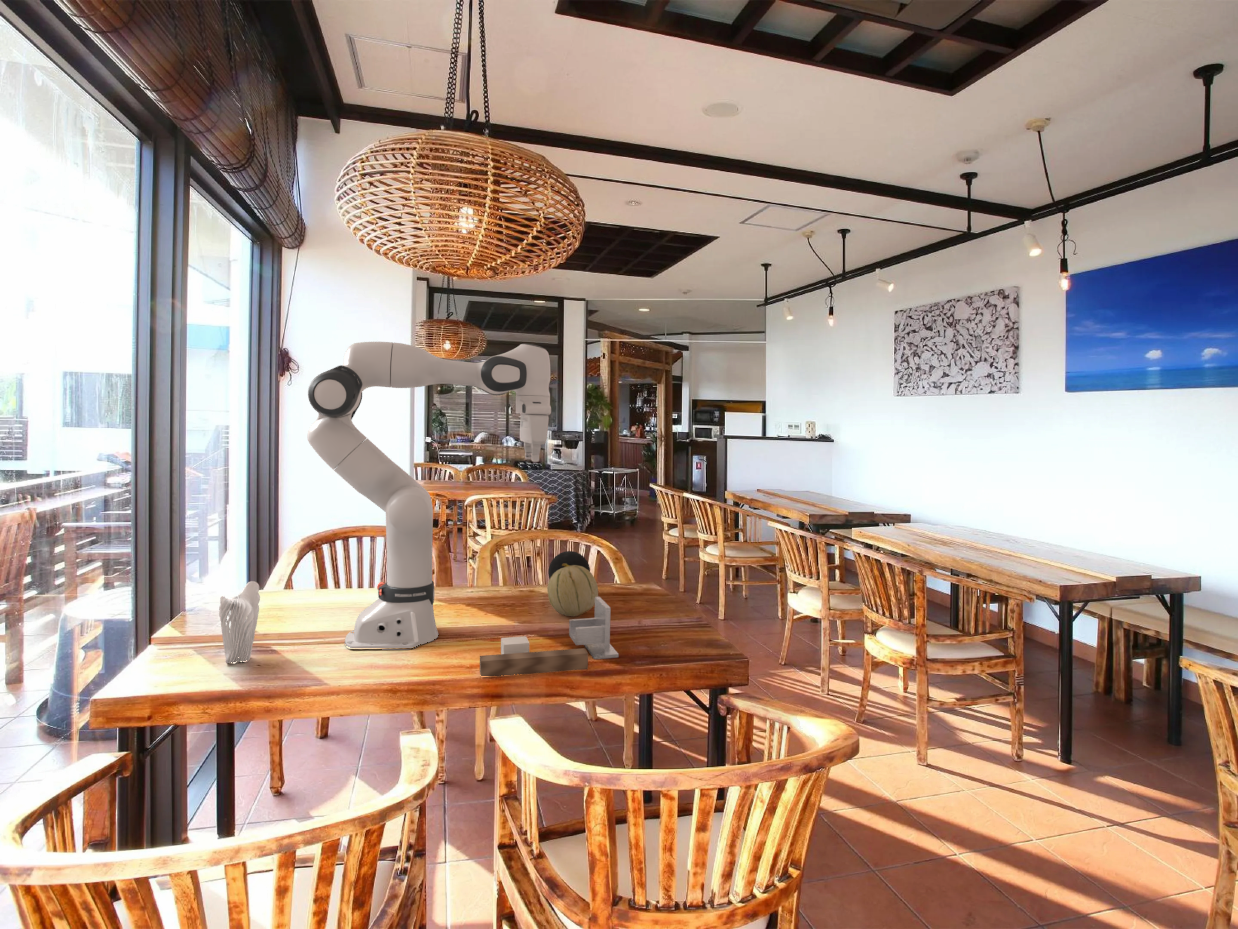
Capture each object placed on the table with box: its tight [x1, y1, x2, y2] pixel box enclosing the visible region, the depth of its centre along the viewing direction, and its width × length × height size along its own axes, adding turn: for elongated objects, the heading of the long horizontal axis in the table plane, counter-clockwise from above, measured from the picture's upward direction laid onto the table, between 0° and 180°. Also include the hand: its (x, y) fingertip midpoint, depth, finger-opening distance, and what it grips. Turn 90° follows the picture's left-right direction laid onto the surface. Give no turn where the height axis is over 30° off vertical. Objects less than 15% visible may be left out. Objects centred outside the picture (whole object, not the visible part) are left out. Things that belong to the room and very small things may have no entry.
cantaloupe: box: [547, 563, 599, 617], centre depth 195 cm, size 15×15×15 cm
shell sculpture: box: [218, 580, 261, 664], centre depth 153 cm, size 8×8×18 cm
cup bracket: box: [568, 596, 619, 660], centre depth 166 cm, size 10×12×12 cm
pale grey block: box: [500, 635, 530, 654], centre depth 161 cm, size 6×5×4 cm
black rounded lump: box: [547, 550, 591, 580], centre depth 213 cm, size 13×13×15 cm
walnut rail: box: [479, 647, 589, 677], centre depth 153 cm, size 24×4×4 cm, turn 106°
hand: (531, 460), depth 177 cm, fingers open, 8 cm apart
